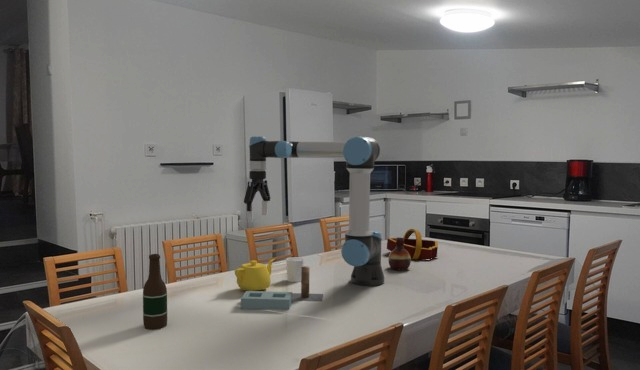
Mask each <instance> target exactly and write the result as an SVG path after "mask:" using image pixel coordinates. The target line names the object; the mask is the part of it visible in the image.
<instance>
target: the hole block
mask: <svg viewBox="0 0 640 370" xmlns="http://www.w3.org/2000/svg"><path fill="white" fill-rule="evenodd" d="M292 293H293V291H268V290H267V291H266V290H262V291H261V290H255V291H249V290H245V292H244V294H243V295H242V296H241V297H240V309H241V310H258V311H260V310H263V311H264V310H265V311H267V310H268V311H269V310H290V309H291V306H292V303H293V301H292Z"/></svg>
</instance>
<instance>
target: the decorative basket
mask: <svg viewBox="0 0 640 370" xmlns="http://www.w3.org/2000/svg"><path fill="white" fill-rule="evenodd" d="M412 234H415V238H410V237H411V236H412ZM396 238H397V237H388V238H387V239H386V241H387V242H386V249H387V250H388V251H389V252H391V251H392V250H394V249H395V248H396ZM402 238H404V249H405V250H407V251H408V253H409V254H410V257H411V260H419V259H431V258H434V257H438V248H439V247H438V245H439V243H438V240H432V239H431V240H430V239H422V235H421V231H420V230H417V229H415V228H410V229H408V230H407V231H406V232H405V233H404V235H403V237H402ZM434 259H435V258H434ZM431 260H432V259H431Z"/></svg>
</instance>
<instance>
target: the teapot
mask: <svg viewBox="0 0 640 370" xmlns="http://www.w3.org/2000/svg"><path fill="white" fill-rule="evenodd" d="M275 260H276V259H275V258H273V259H270V260H269V261H268V263H267V266H266V264H264V263H260V262H258V261H257V260H254V259H253V260H250V261H249V262H248V263H243V264H241V265H240V267H239V268H235V270H234V275H235V278H236V284H237V285H238V287H239V288H240V291H243V292H244V291H245V292H246V291H266V290H267V289H268V288H269V287H270V285H271V283H272V282H271V274H272V265H273V262H274V261H275Z"/></svg>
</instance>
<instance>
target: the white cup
mask: <svg viewBox="0 0 640 370" xmlns="http://www.w3.org/2000/svg"><path fill="white" fill-rule="evenodd" d="M304 261H305V258H303V257H298V256H297V257H296V256H294V257H293V256H292V257H287V258H286V261H285V263H286V275H287V276H286V277H287V281H288V282H290V283H291V282H292V283H301V267H304V266H305V264H304V263H305V262H304Z"/></svg>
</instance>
